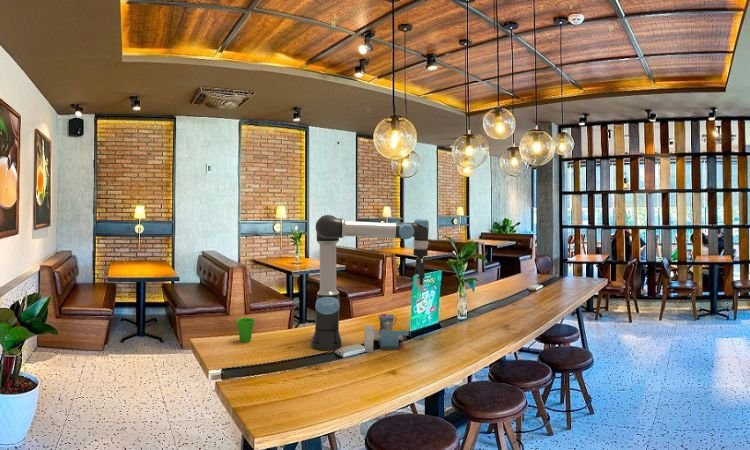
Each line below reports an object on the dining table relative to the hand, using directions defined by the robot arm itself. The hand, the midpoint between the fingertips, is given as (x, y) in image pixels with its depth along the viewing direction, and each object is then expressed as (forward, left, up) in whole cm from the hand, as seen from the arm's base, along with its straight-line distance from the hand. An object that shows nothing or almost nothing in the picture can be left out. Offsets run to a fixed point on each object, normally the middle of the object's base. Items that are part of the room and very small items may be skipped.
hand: (419, 288), depth 250 cm
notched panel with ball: (-16, -10, -27) cm, 33 cm away
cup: (-89, -6, -28) cm, 93 cm away
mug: (-15, +8, -28) cm, 32 cm away
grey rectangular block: (-27, -20, -27) cm, 44 cm away
